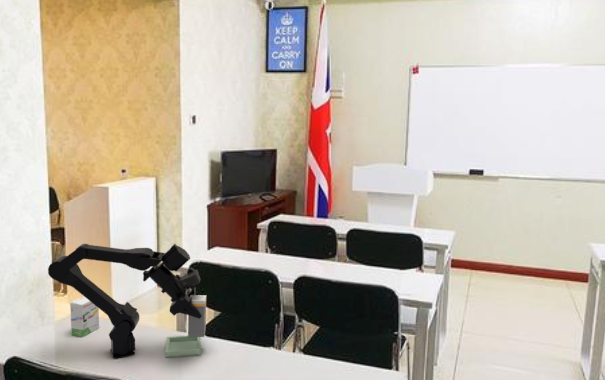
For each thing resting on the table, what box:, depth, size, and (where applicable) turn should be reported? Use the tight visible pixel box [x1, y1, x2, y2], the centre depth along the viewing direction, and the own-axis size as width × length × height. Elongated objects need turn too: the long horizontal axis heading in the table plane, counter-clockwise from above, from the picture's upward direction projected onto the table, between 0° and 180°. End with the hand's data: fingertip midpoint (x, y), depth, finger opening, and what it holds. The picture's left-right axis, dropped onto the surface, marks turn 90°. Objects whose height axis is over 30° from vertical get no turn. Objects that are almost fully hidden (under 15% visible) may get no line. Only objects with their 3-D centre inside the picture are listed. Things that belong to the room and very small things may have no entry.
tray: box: [164, 335, 202, 359], centre depth 167 cm, size 11×11×2 cm
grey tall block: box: [187, 294, 207, 338], centre depth 163 cm, size 5×5×12 cm
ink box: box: [69, 295, 100, 338], centre depth 177 cm, size 8×5×12 cm, turn 161°
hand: (201, 314), depth 163 cm, fingers closed on grey tall block, 5 cm apart
